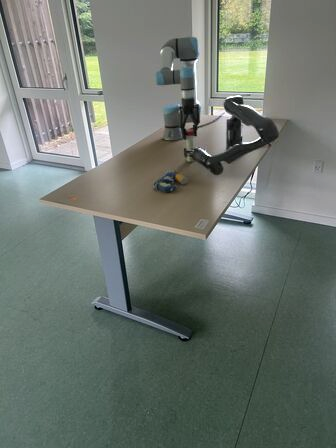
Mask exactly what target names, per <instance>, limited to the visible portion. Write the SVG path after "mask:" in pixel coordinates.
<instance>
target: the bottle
mask: <svg viewBox="0 0 336 448" xmlns="http://www.w3.org/2000/svg"><path fill="white" fill-rule="evenodd" d="M194 137H195V136H193V135H192V136H186V140H185V148H186V149H188V150H194V147H195V139H194ZM186 161H187V162H188V163H189V162H191V163H192V162H195V160H193V158H192V157H190V156H188V157H187V158H186Z"/></svg>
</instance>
